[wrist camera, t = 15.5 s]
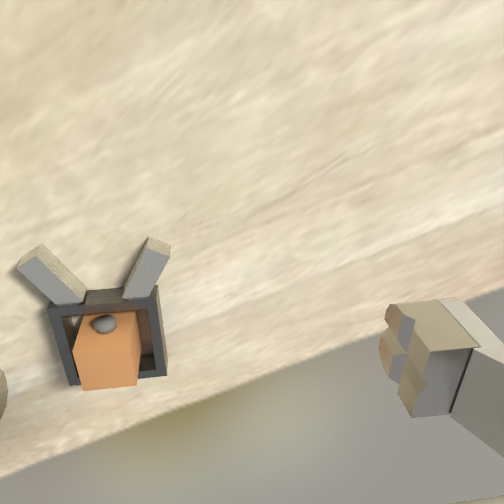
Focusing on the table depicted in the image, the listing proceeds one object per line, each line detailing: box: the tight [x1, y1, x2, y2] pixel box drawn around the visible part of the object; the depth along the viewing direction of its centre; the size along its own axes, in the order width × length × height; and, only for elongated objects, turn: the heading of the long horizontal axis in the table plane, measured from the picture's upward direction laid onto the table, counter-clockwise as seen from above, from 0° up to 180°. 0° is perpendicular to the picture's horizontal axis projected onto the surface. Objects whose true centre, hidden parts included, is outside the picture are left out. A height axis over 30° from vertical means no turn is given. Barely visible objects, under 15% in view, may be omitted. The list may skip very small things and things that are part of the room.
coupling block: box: [72, 310, 142, 391], centre depth 44 cm, size 5×7×6 cm
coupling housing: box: [16, 237, 171, 386], centre depth 44 cm, size 13×16×2 cm
